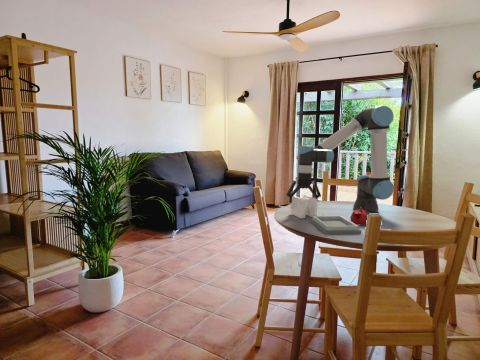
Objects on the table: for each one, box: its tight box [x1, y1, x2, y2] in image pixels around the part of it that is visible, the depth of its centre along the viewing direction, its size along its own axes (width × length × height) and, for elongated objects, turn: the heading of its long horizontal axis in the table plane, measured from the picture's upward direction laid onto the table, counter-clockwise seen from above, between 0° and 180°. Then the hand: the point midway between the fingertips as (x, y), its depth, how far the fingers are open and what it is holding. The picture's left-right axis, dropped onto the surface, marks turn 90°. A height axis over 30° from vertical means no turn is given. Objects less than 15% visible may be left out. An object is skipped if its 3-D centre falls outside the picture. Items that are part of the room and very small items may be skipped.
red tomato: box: [349, 207, 369, 226], centre depth 166 cm, size 10×10×9 cm
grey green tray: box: [309, 215, 362, 235], centre depth 158 cm, size 18×22×4 cm
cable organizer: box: [289, 194, 318, 220], centre depth 180 cm, size 15×11×12 cm
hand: (302, 208), depth 180 cm, fingers open, 13 cm apart
